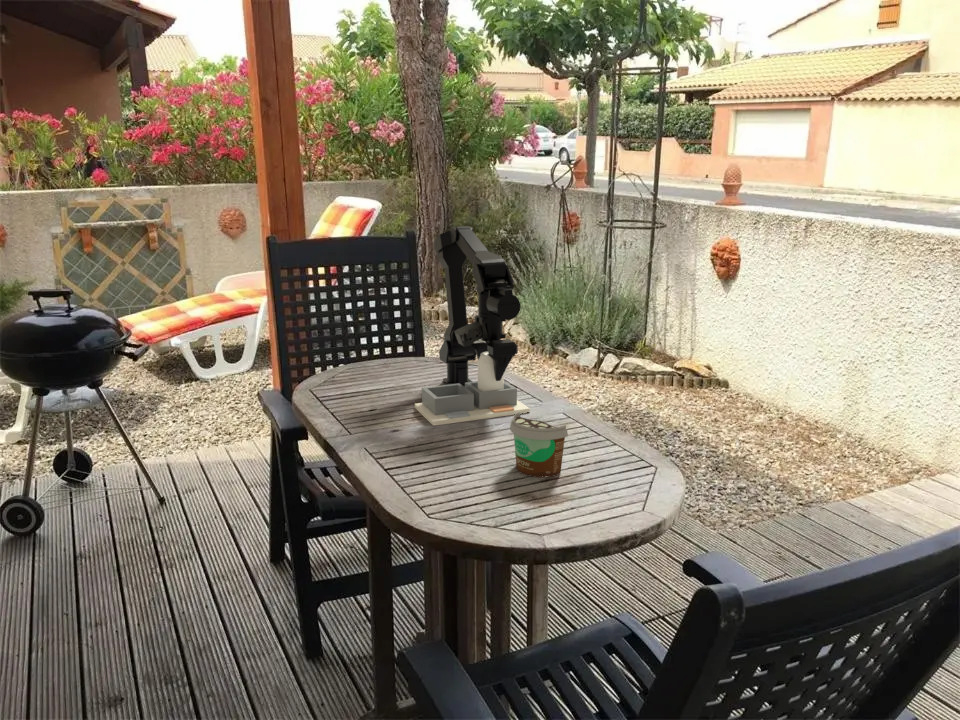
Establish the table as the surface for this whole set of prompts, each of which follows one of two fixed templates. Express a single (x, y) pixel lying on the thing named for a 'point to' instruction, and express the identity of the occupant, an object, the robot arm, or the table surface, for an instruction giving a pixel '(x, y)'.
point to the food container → (537, 446)
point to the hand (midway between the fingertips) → (490, 375)
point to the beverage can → (487, 374)
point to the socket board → (467, 403)
